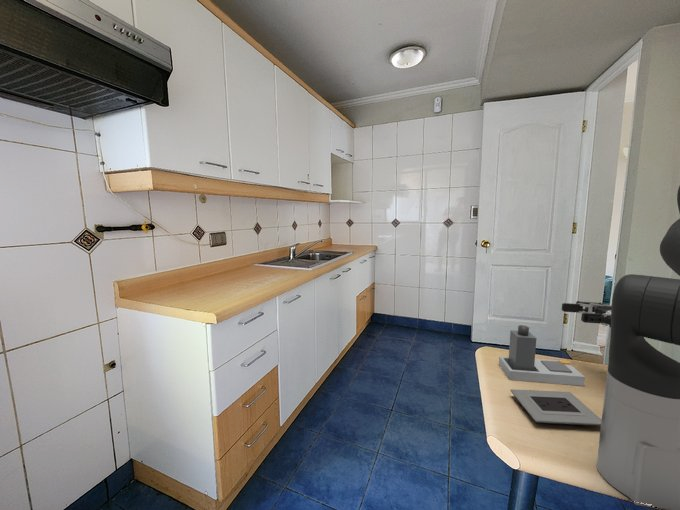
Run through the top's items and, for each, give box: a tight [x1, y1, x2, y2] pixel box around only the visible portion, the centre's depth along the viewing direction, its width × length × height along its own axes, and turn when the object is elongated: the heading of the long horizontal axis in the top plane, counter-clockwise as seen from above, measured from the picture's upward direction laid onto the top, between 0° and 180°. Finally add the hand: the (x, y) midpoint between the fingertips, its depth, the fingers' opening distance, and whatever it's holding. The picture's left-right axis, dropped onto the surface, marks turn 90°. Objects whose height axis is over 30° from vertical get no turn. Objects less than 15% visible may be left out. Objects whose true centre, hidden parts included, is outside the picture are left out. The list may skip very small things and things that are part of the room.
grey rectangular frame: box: [498, 355, 586, 387], centre depth 77 cm, size 8×17×3 cm, turn 79°
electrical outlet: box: [510, 388, 602, 427], centre depth 62 cm, size 13×10×2 cm
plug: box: [508, 324, 537, 371], centre depth 77 cm, size 4×4×13 cm
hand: (571, 312), depth 74 cm, fingers open, 8 cm apart
